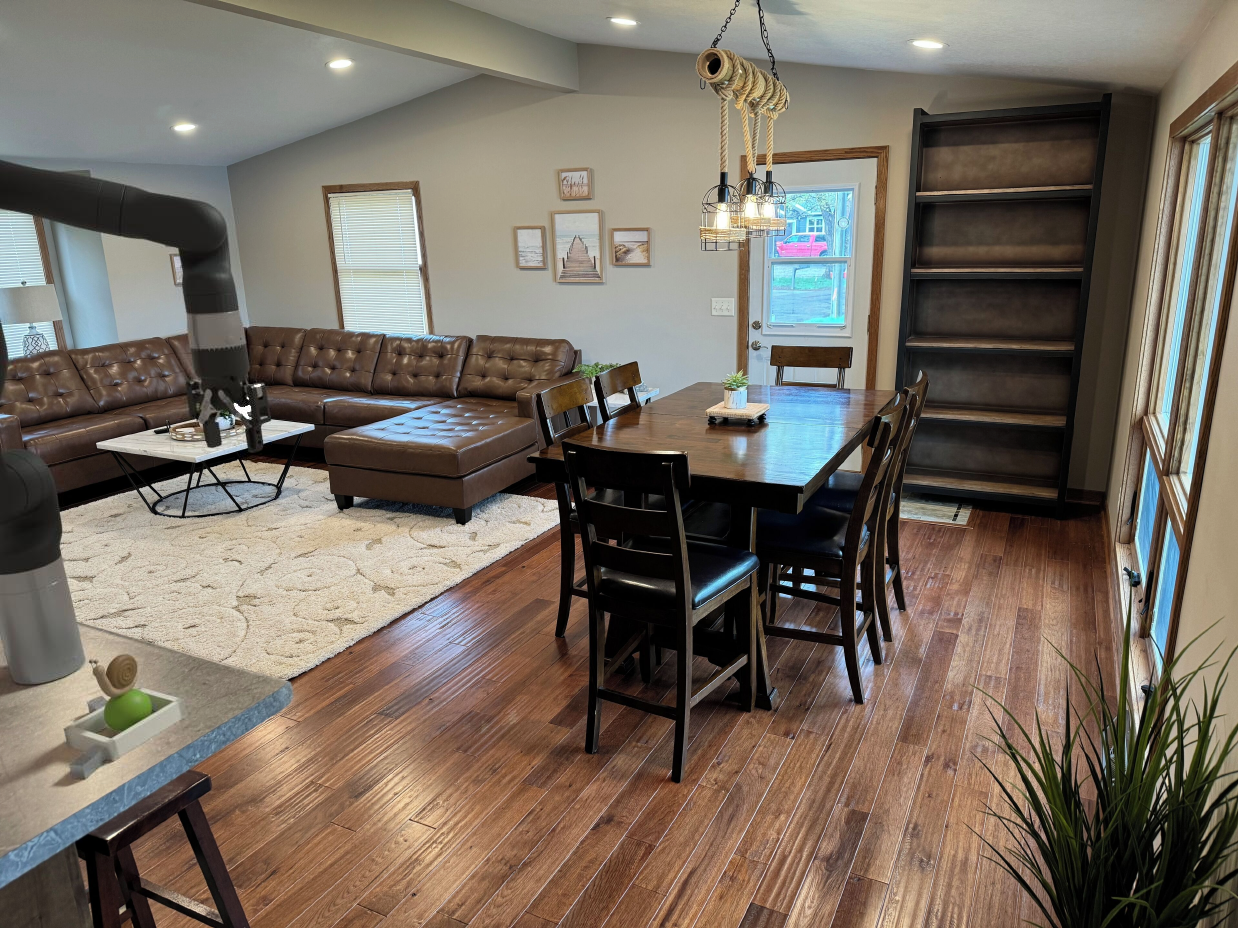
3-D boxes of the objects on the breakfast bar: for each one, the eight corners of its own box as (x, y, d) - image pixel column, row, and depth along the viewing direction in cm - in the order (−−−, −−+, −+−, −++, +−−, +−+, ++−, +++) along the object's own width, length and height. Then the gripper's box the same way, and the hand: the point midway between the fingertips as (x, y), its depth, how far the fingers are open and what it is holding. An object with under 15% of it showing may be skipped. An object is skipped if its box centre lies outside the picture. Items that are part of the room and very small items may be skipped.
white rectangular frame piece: (12, 755, 106) (7, 738, 105) (120, 696, 119) (117, 680, 118) (81, 781, 101) (77, 762, 100) (187, 716, 114) (184, 699, 113)
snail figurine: (92, 743, 108) (72, 658, 105) (129, 715, 114) (111, 634, 111) (129, 747, 107) (110, 662, 104) (164, 718, 113) (148, 637, 110)
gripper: (273, 340, 125) (288, 446, 130) (204, 337, 131) (221, 439, 136) (232, 348, 119) (250, 459, 123) (161, 344, 125) (180, 451, 129)
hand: (235, 448), depth 130 cm, fingers open, 8 cm apart
